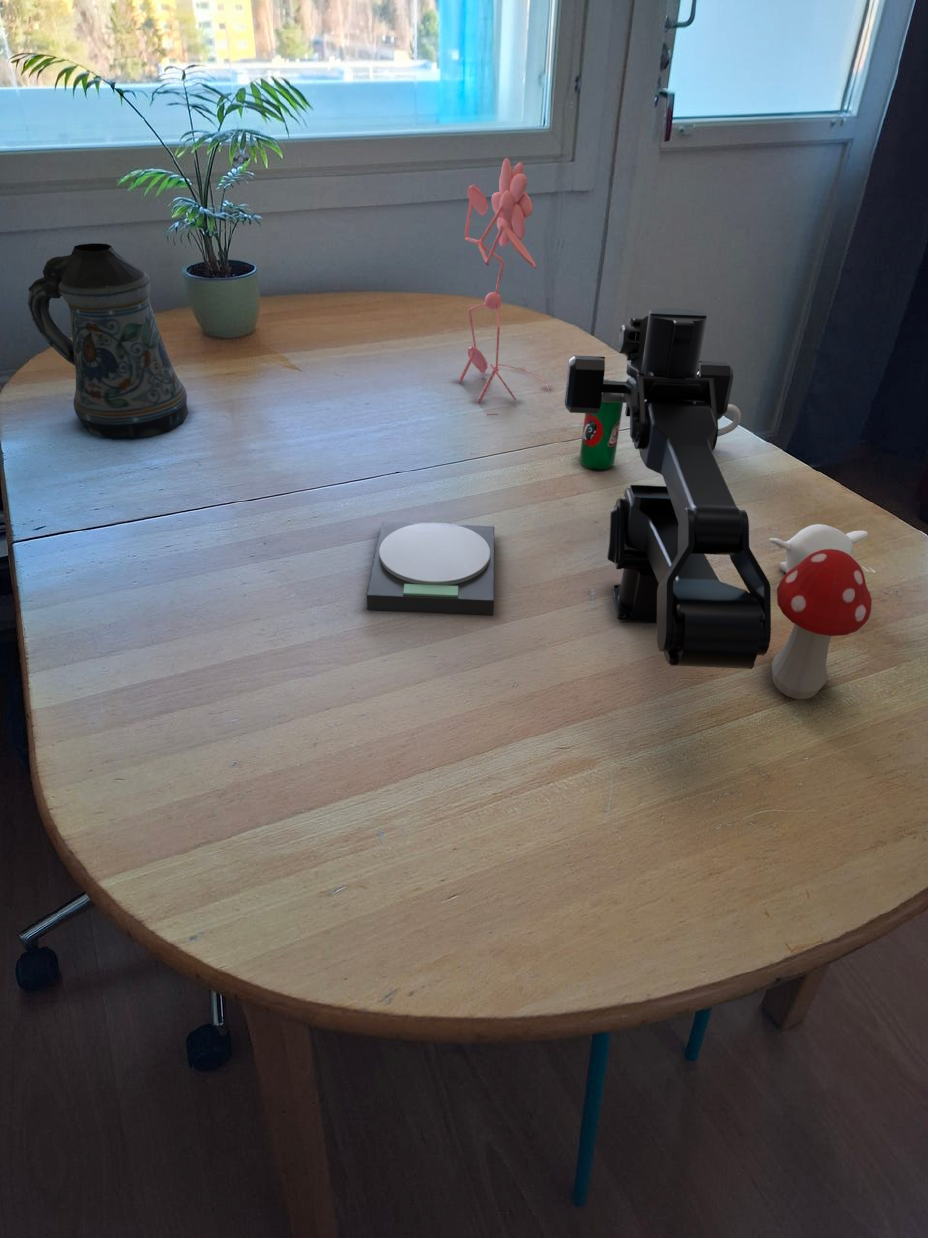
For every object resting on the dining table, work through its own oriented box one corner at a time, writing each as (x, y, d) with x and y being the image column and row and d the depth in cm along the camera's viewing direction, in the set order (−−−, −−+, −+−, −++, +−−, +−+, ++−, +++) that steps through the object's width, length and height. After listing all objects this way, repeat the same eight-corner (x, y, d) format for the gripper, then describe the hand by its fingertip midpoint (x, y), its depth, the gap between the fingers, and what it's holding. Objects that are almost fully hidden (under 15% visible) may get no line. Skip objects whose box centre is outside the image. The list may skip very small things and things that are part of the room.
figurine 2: (742, 587, 106) (788, 610, 96) (746, 519, 103) (793, 536, 94) (831, 579, 108) (884, 600, 98) (837, 512, 105) (893, 527, 96)
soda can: (612, 473, 125) (624, 393, 118) (577, 469, 126) (587, 389, 119) (615, 458, 129) (626, 379, 122) (580, 454, 130) (590, 376, 123)
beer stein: (197, 432, 132) (168, 258, 117) (58, 450, 125) (10, 269, 111) (182, 392, 144) (155, 229, 129) (56, 406, 138) (12, 237, 123)
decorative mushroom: (758, 642, 94) (794, 521, 85) (841, 662, 92) (887, 540, 83) (747, 698, 87) (785, 572, 78) (838, 722, 84) (888, 595, 75)
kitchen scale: (493, 615, 97) (494, 596, 95) (367, 609, 97) (366, 590, 95) (493, 539, 109) (494, 521, 108) (382, 535, 110) (381, 517, 108)
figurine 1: (492, 423, 138) (506, 178, 117) (438, 366, 157) (442, 147, 136) (579, 412, 142) (608, 175, 121) (516, 357, 162) (532, 144, 141)
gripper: (759, 332, 91) (723, 305, 105) (580, 324, 91) (568, 298, 105) (738, 436, 97) (707, 397, 110) (570, 429, 97) (559, 391, 110)
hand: (636, 369), depth 109 cm, fingers open, 9 cm apart
